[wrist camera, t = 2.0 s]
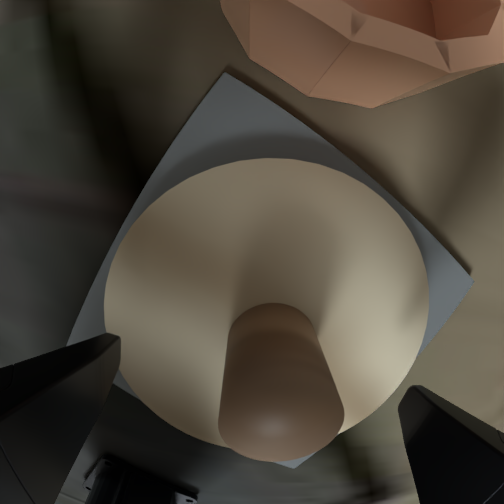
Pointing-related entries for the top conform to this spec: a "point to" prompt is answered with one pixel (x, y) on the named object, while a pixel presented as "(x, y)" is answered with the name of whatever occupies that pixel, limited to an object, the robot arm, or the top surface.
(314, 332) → the lid
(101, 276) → the mat
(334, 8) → the bowl
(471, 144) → the top surface
